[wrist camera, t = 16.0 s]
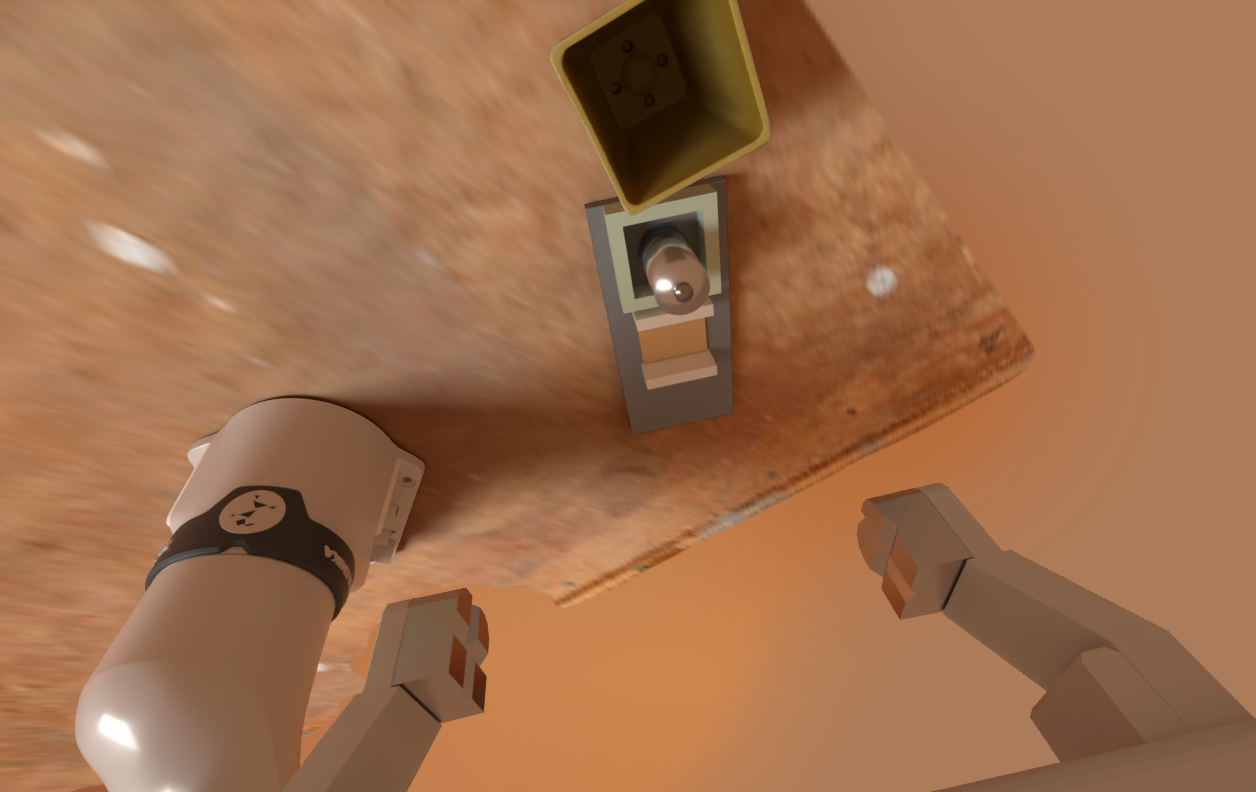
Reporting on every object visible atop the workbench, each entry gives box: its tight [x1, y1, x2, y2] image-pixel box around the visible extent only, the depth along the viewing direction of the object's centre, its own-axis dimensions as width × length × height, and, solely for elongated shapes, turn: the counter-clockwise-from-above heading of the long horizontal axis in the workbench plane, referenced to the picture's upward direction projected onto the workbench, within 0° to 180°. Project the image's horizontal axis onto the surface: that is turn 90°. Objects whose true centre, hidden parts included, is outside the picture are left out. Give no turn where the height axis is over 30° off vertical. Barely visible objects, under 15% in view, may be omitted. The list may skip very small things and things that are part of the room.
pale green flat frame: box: [602, 183, 721, 314], centre depth 37 cm, size 8×8×2 cm
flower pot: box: [550, 0, 772, 216], centre depth 29 cm, size 9×9×9 cm
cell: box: [638, 223, 710, 315], centre depth 35 cm, size 4×4×8 cm
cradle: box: [632, 296, 717, 390], centre depth 42 cm, size 7×6×2 cm
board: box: [584, 176, 734, 435], centre depth 43 cm, size 22×10×1 cm, turn 9°
